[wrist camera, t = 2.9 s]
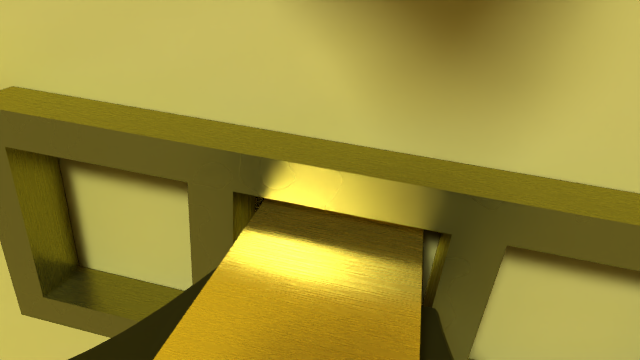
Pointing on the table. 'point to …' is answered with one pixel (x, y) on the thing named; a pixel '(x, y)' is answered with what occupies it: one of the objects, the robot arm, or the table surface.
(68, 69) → the table surface
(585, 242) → the olive rectangular frame
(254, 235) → the yellow rectangular block
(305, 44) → the table surface
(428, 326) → the robot arm
